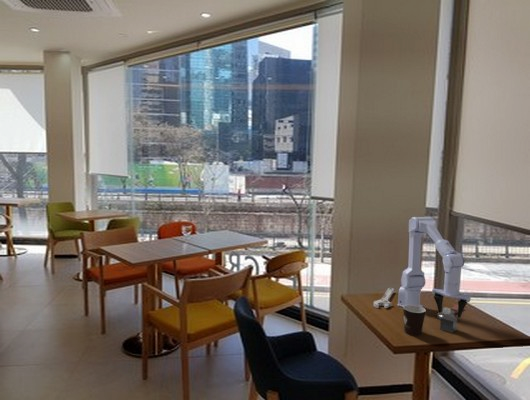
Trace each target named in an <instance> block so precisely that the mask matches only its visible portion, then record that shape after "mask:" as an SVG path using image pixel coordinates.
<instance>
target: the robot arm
mask: <svg viewBox="0 0 530 400" xmlns="http://www.w3.org/2000/svg"><path fill="white" fill-rule="evenodd" d="M408 233H409V238H408V239H409V241H408V262H407V264H408V265H407V266H408V267H407V268H406V269H404V270H403V271H402V274H401V278H400V284H401V286H400V287H399V290H398V294H397V295H398V297H397V306H398V307H402V308H403V306H405V305H416V306H420V307H423V306H424V305H422V304H421V292H422V291H421V290H423V288H424V287H425V286H426V278H425V277H426V276H425V272H424V271H423V269H421V260H422V259H421V257H422V256H421V255H422V254H421V252H422V237H423V235H425V234H427V235H428V236H429V237H430V238H431V239H432V241H433V242H434V243H435V249H436V250H437V252H438V254H439V255H440V256H441V258H442V266H443V270H444V279H443V280H444V282H443V289H439V288H432V292H431V294H432V295H433V298H434V302H435V303H436V306H437V312H438V313H441V312H443V301H444V297H447V298H451V299H455V300H458V301H457V304H458V313H457V318H458V319H460V318H461V317H462V314H463V311H464V310H465V307H466V305H467V304H468V303H471V298H472V296H470V295H466V294H463V293H460V283H461V269H462V268H463V267H464V265H465V257H464V255H463V254H462V253H461V252H458V251H456V250H455V248H454V247H453V246H452V244H451V242H450V241H449V240H447V239H444V238H443V236H442V234H441V233H440V232H439V230H438V229H437V222H436V220H435V219H434V218H433V217H432V216H413V217H411V218H410V219H409V220H408ZM423 308H424V307H423Z"/></svg>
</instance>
